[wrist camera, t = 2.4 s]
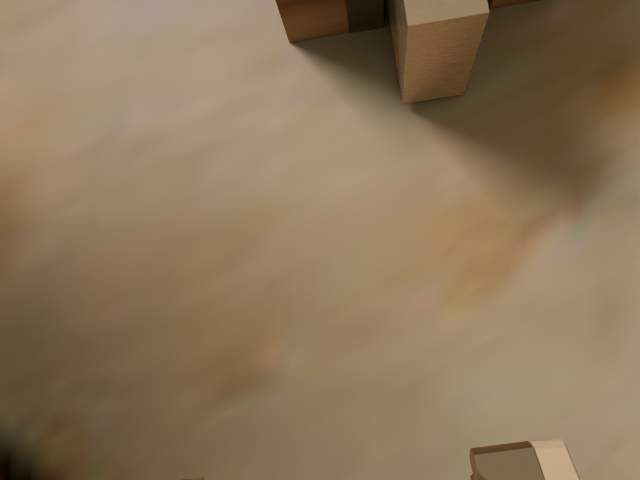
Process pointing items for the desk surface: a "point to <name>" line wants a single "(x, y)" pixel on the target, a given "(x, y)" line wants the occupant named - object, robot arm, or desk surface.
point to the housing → (339, 16)
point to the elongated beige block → (435, 45)
